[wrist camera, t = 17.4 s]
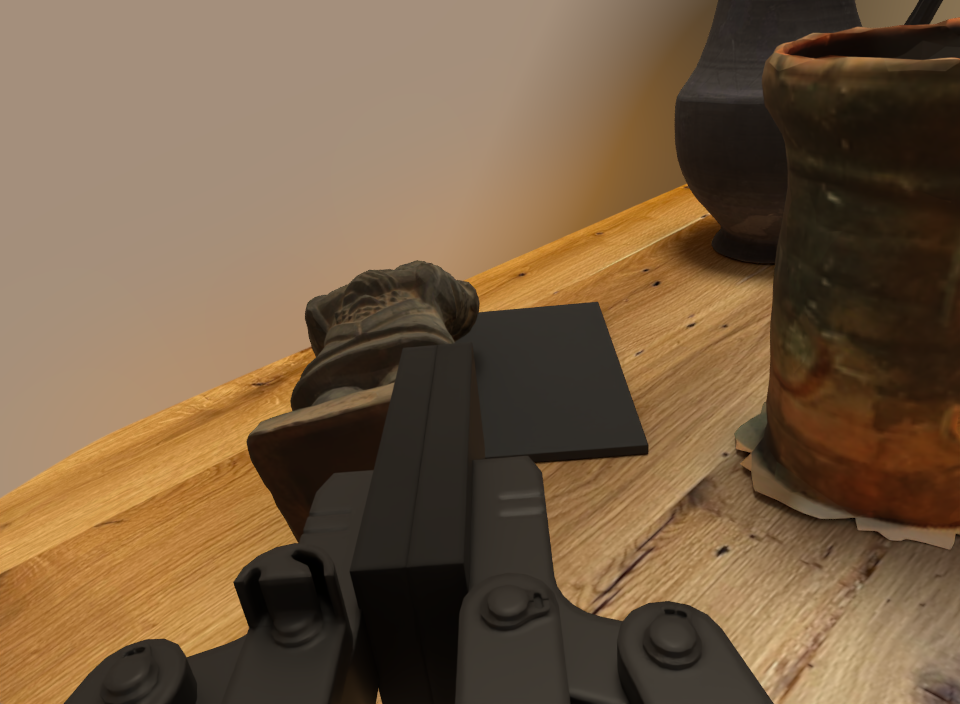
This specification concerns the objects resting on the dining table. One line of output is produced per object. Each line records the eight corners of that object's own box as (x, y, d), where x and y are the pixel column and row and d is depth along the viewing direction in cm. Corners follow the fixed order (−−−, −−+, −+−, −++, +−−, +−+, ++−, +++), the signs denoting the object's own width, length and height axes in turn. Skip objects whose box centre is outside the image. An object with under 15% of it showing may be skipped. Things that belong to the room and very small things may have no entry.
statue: (178, 434, 28) (321, 229, 55) (284, 596, 32) (370, 330, 59) (433, 348, 27) (453, 179, 54) (513, 528, 31) (494, 287, 58)
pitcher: (681, 218, 74) (690, -117, 61) (904, 218, 67) (971, -162, 54) (661, 278, 60) (667, -143, 47) (943, 286, 53) (1046, -208, 39)
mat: (648, 454, 38) (648, 444, 38) (394, 473, 39) (392, 464, 39) (598, 308, 56) (598, 301, 56) (424, 323, 57) (423, 317, 56)
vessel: (1042, 625, 26) (1252, 39, 17) (686, 488, 35) (702, 58, 26) (1087, 441, 35) (1238, -3, 26) (795, 370, 44) (834, 22, 35)
